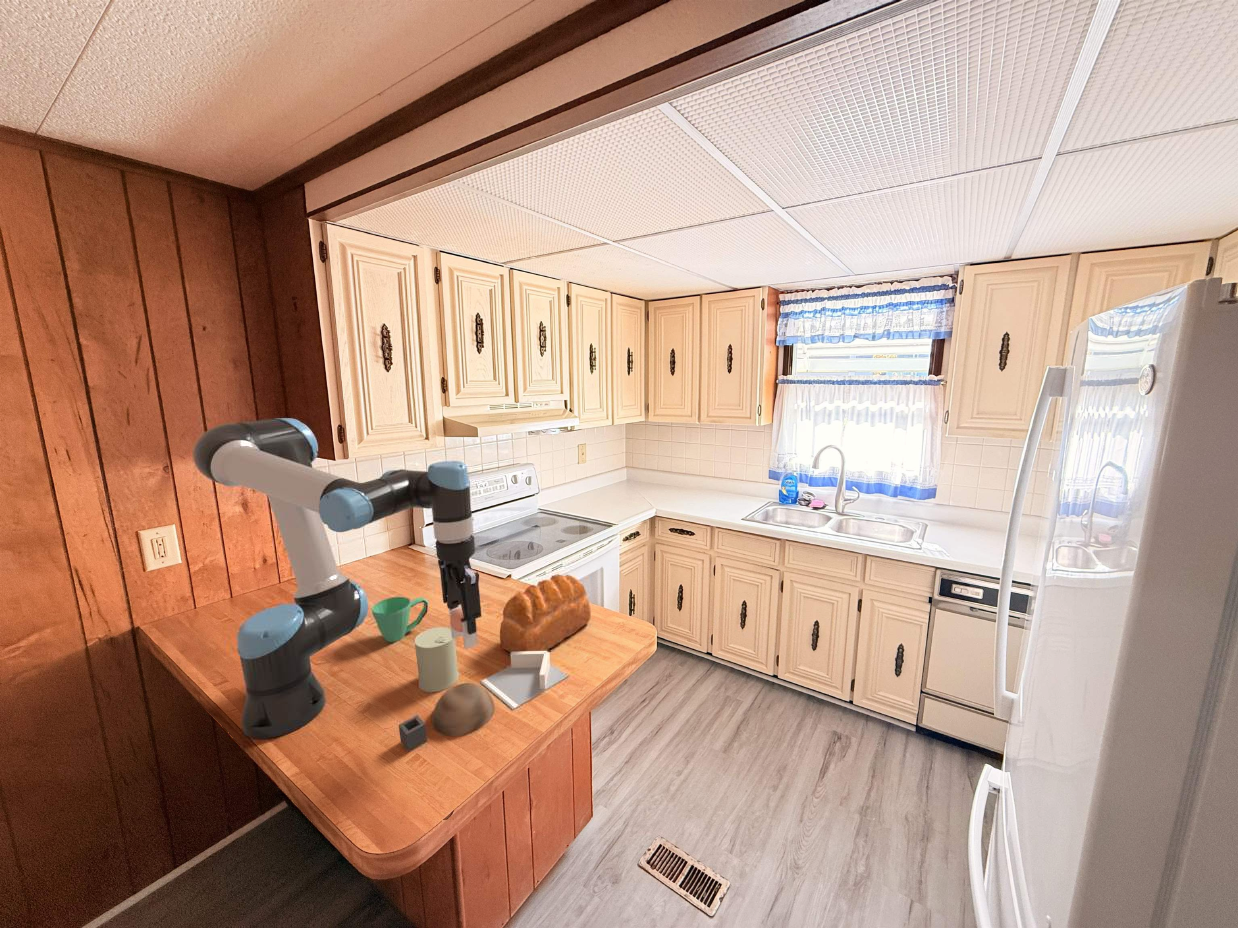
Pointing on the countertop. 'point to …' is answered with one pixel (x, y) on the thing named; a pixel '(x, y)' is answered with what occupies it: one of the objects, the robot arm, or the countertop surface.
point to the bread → (544, 614)
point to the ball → (457, 620)
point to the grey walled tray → (524, 678)
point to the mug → (396, 616)
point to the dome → (462, 710)
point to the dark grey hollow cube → (413, 733)
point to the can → (436, 659)
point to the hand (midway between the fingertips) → (464, 640)
